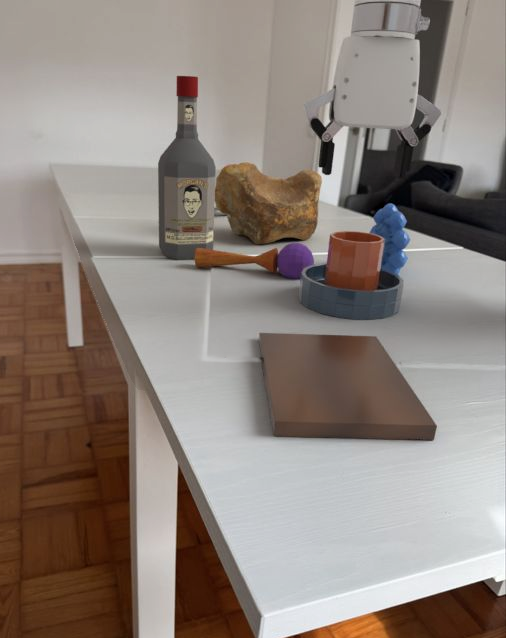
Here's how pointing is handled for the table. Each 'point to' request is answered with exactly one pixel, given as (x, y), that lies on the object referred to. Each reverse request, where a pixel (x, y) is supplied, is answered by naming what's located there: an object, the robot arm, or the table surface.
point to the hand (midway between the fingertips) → (362, 175)
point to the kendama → (262, 259)
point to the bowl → (350, 296)
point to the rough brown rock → (268, 203)
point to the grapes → (391, 237)
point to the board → (339, 389)
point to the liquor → (186, 183)
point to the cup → (354, 260)
